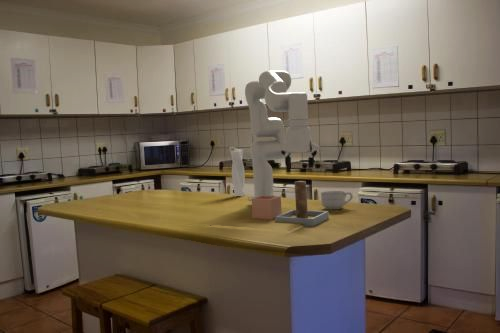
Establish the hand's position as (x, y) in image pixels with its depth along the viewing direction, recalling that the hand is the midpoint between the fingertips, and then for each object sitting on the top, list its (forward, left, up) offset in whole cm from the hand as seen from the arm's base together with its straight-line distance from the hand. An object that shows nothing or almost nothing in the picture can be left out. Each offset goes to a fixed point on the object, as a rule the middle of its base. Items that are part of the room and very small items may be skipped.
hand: (299, 167), depth 188 cm
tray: (0, 0, -22) cm, 22 cm away
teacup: (+4, +29, -22) cm, 36 cm away
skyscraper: (-63, +54, -22) cm, 85 cm away
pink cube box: (-16, 0, -22) cm, 27 cm away
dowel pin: (0, 0, -21) cm, 21 cm away
